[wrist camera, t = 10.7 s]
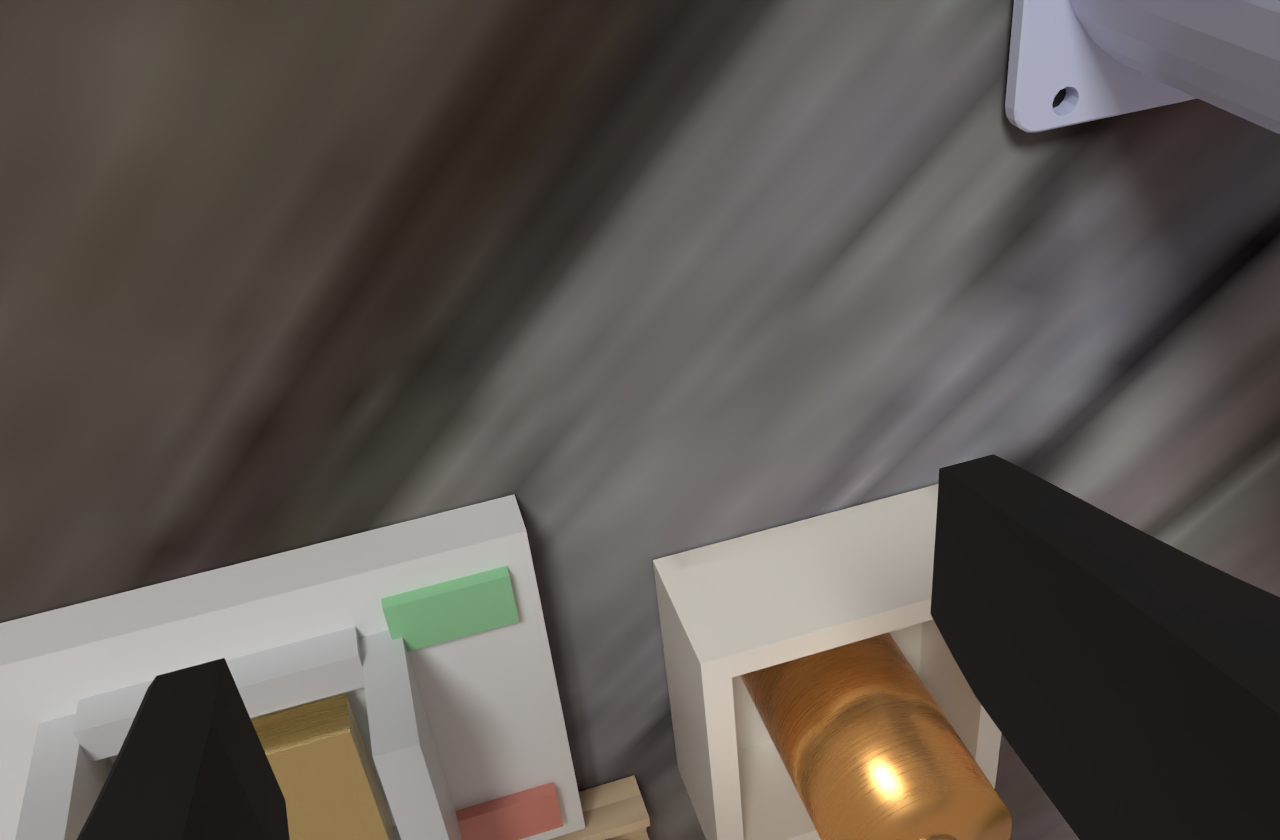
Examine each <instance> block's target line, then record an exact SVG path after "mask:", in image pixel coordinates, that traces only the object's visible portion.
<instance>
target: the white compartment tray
mask: <svg viewBox="0 0 1280 840" xmlns="http://www.w3.org/2000/svg"><path fill="white" fill-rule="evenodd" d="M222 658H225V660H226V663H227V665H228V667H229V670H230V672H231V674H232V677H233V679H234V681H235V684H236V686H237V688H238V691H239V693H240V695H241V698H242V700H243V702H244V705H245V707H246V709H247V712H248V714H249V716H250V719H254V718H257V717H261V716H265V715H268V714H272V713H276V712H279V711H283V710H286V709H290V708H294V707H297V706H301V705H305V704H308V703H312V702H316V701H319V700H323V699H326V698H330V697H334V696H337V695H341V694H345V693H347V696H348V699H349V702H350V705H351V708H352V710H353V713H354V716H355V719H356V722H357V725H358V728H359V730H360V733H361V736H362V739H363V742H364V745H365V747H366V750H367V753H368V756H369V759H370V762H371V765H372V767H373V770H374V773H375V776H376V779H377V782H378V785H379V787H380V790H381V793H382V796H383V799H384V802H385V804H386V807H387V810H388V813H389V816H390V819H391V822H392V827H393V835H394V840H549V839H552V838H555V837H558V836H562V835H565V834H568V833H571V832H575V831H578V830H581V829H584V828H585V823H584V818H583V813H582V808H581V803H580V798H579V793H578V788H577V783H576V778H575V773H574V768H573V763H572V758H571V753H570V748H569V743H568V738H567V733H566V727H565V722H564V717H563V712H562V707H561V702H560V697H559V692H558V687H557V682H556V677H555V672H554V667H553V662H552V657H551V652H550V647H549V642H548V637H547V632H546V627H545V622H544V617H543V612H542V607H541V602H540V597H539V592H538V587H537V582H536V577H535V572H534V567H533V562H532V557H531V552H530V547H529V542H528V537H527V532H526V528H525V525H524V522H523V519H522V516H521V513H520V510H519V507H518V504H517V501H516V498H515V495H510V496H506V497H502V498H498V499H494V500H490V501H486V502H482V503H478V504H474V505H470V506H466V507H462V508H458V509H454V510H450V511H446V512H442V513H438V514H434V515H430V516H426V517H422V518H418V519H414V520H410V521H406V522H402V523H398V524H394V525H390V526H386V527H382V528H378V529H374V530H370V531H366V532H362V533H358V534H354V535H351V536H347V537H343V538H339V539H335V540H331V541H327V542H323V543H319V544H315V545H311V546H307V547H303V548H299V549H295V550H291V551H287V552H283V553H279V554H275V555H271V556H267V557H263V558H259V559H255V560H251V561H247V562H243V563H239V564H235V565H231V566H227V567H223V568H219V569H215V570H211V571H207V572H203V573H199V574H195V575H191V576H187V577H183V578H179V579H175V580H171V581H167V582H163V583H159V584H155V585H151V586H147V587H143V588H139V589H135V590H131V591H127V592H123V593H119V594H115V595H111V596H107V597H103V598H99V599H95V600H91V601H87V602H83V603H79V604H75V605H71V606H68V607H64V608H60V609H56V610H52V611H48V612H44V613H40V614H36V615H32V616H28V617H24V618H20V619H16V620H12V621H8V622H4V623H0V840H77V838H78V836H79V834H80V832H81V830H82V828H83V826H84V824H85V822H86V820H87V818H88V816H89V814H90V812H91V810H92V808H93V806H94V804H95V802H96V800H97V798H98V796H99V794H100V792H101V789H102V787H103V785H104V783H105V781H106V779H107V777H108V775H109V773H110V771H111V768H112V766H113V764H114V762H115V760H116V758H117V756H118V753H119V751H120V749H121V747H122V745H123V742H124V740H125V738H126V736H127V734H128V731H129V729H130V727H131V725H132V722H133V720H134V718H135V716H136V713H137V711H138V709H139V707H140V704H141V702H142V700H143V698H144V695H145V693H146V691H147V689H148V687H149V686H150V684H151V683H152V681H153V680H154V679H155V677H156V676H158V675H162V674H165V673H169V672H173V671H177V670H180V669H184V668H188V667H192V666H196V665H199V664H203V663H207V662H211V661H215V660H218V659H222Z"/></svg>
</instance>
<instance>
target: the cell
mask: <svg viewBox="0 0 1280 840" xmlns="http://www.w3.org/2000/svg"><path fill="white" fill-rule="evenodd" d="M740 677H741V679H742V681H743V683H744V685H745V687H746V689H747V691H748V693H749V695H750V697H751V699H752V701H753V703H754V705H755V707H756V709H757V711H758V713H759V715H760V717H761V719H762V721H763V723H764V725H765V727H766V729H767V731H768V733H769V735H770V737H771V739H772V741H773V743H774V745H775V747H776V749H777V752H778V754H779V756H780V758H781V760H782V762H783V764H784V766H785V768H786V770H787V772H788V774H789V776H790V778H791V780H792V782H793V784H794V786H795V788H796V790H797V792H798V794H799V796H800V798H801V800H802V802H803V804H804V806H805V808H806V810H807V812H808V814H809V816H810V818H811V820H812V822H813V825H814V827H815V829H816V831H817V833H818V835H819V837H820V839H821V840H1009V838H1010V835H1011V830H1012V819H1011V815H1010V812H1009V810H1008V809H1007V807H1006V806H1005V804H1004V803H1003V801H1002V800H1001V798H1000V797H999V795H998V794H997V792H996V791H995V789H994V788H993V786H992V785H991V783H990V782H989V780H988V779H987V777H986V776H985V774H984V773H983V771H982V770H981V768H980V767H979V765H978V764H977V762H976V761H975V759H974V758H973V756H972V755H971V754H970V752H969V751H968V749H967V748H966V746H965V745H964V743H963V742H962V740H961V739H960V737H959V736H958V734H957V733H956V731H955V730H954V728H953V727H952V725H951V724H950V722H949V721H948V719H947V718H946V716H945V715H944V713H943V712H942V710H941V709H940V707H939V706H938V704H937V703H936V701H935V700H934V698H933V697H932V695H931V694H930V693H929V691H928V690H927V688H926V687H925V685H924V684H923V682H922V681H921V679H920V678H919V676H918V675H917V673H916V672H915V670H914V669H913V667H912V666H911V664H910V663H909V661H908V660H907V658H906V657H905V655H904V654H903V652H902V651H901V649H900V648H899V646H898V645H897V643H896V642H895V640H894V639H893V637H892V636H891V634H890V633H889V632H888V633H884V634H881V635H877V636H874V637H870V638H867V639H864V640H860V641H857V642H853V643H850V644H846V645H843V646H839V647H836V648H832V649H829V650H826V651H822V652H819V653H815V654H812V655H808V656H805V657H801V658H798V659H795V660H791V661H788V662H784V663H781V664H777V665H774V666H770V667H767V668H763V669H760V670H757V671H753V672H750V673H746V674H743V675H740Z"/></svg>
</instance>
